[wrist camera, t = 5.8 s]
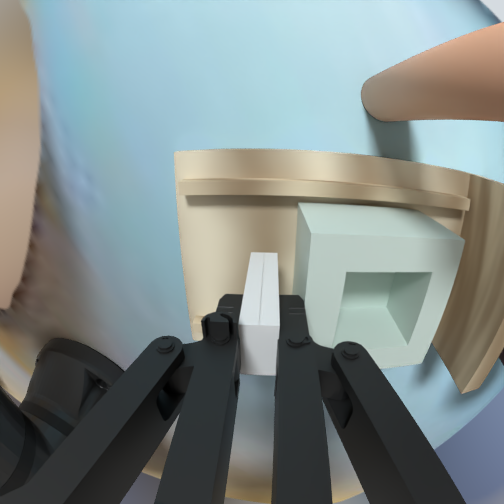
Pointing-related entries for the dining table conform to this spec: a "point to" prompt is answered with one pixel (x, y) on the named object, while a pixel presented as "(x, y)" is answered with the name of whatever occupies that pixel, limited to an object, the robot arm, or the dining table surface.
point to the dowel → (443, 82)
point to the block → (374, 277)
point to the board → (340, 192)
